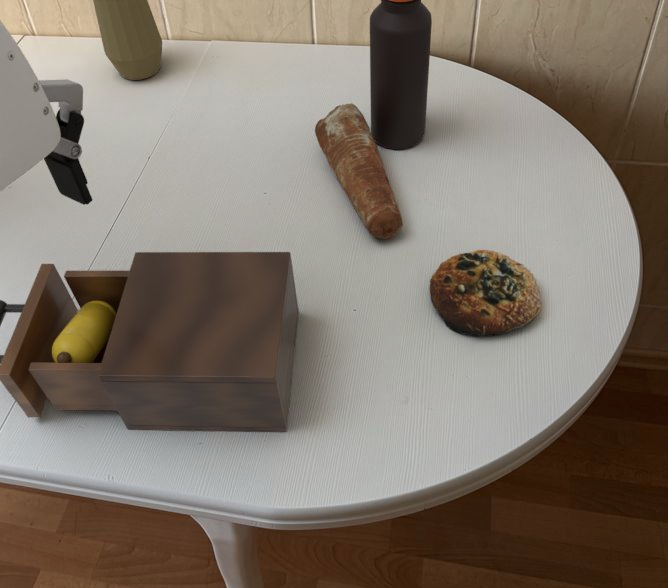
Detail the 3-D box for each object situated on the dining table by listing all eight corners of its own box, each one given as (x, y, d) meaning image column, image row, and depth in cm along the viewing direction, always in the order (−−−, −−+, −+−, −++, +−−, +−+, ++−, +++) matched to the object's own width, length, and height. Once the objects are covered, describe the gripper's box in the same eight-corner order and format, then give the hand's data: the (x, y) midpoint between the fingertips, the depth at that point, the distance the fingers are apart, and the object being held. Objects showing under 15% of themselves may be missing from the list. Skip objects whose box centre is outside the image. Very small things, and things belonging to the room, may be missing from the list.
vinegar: (421, 153, 86) (431, -14, 70) (366, 148, 87) (363, -16, 71) (427, 119, 90) (438, -45, 74) (375, 115, 91) (374, -47, 75)
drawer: (-25, 416, 65) (-62, 374, 59) (19, 309, 72) (-10, 263, 67) (172, 419, 63) (153, 376, 58) (196, 310, 71) (181, 263, 66)
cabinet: (127, 429, 64) (97, 375, 57) (158, 311, 72) (135, 251, 66) (286, 432, 63) (275, 377, 56) (298, 311, 71) (290, 251, 65)
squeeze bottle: (176, 56, 102) (143, -79, 88) (156, 88, 97) (117, -50, 83) (125, 52, 103) (84, -82, 89) (102, 83, 99) (55, -53, 84)
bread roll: (418, 328, 69) (424, 290, 65) (437, 260, 76) (443, 222, 73) (532, 353, 67) (545, 314, 63) (540, 280, 74) (552, 242, 71)
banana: (89, 327, 70) (81, 293, 68) (126, 327, 69) (119, 294, 68) (46, 384, 61) (36, 347, 59) (88, 385, 61) (79, 348, 59)
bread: (363, 137, 88) (363, 97, 84) (409, 240, 77) (411, 200, 72) (314, 146, 87) (311, 107, 83) (354, 251, 76) (352, 213, 72)
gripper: (-11, -55, 46) (77, 157, 60) (-259, 76, 38) (-91, 288, 52) (70, -31, 44) (142, 186, 57) (-179, 116, 35) (-24, 328, 49)
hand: (32, 234), depth 55 cm, fingers open, 9 cm apart
